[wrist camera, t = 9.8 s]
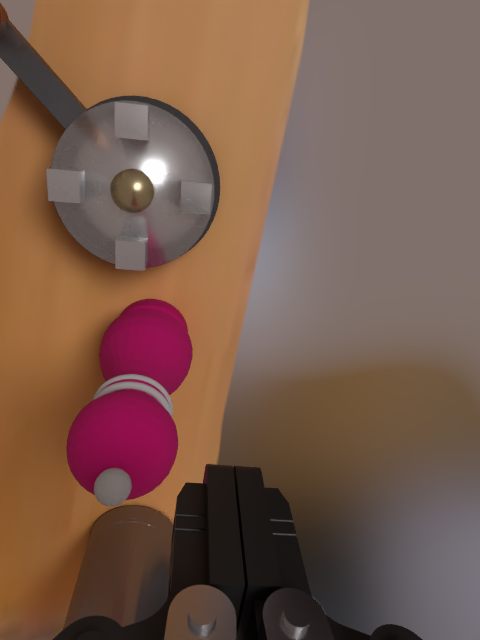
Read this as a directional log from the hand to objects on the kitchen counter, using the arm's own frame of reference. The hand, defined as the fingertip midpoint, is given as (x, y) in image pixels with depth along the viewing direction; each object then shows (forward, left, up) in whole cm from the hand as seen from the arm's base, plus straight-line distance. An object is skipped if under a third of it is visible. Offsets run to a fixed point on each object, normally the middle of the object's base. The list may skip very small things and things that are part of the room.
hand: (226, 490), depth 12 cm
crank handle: (+8, +9, -25) cm, 28 cm away
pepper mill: (-7, +4, -27) cm, 28 cm away
